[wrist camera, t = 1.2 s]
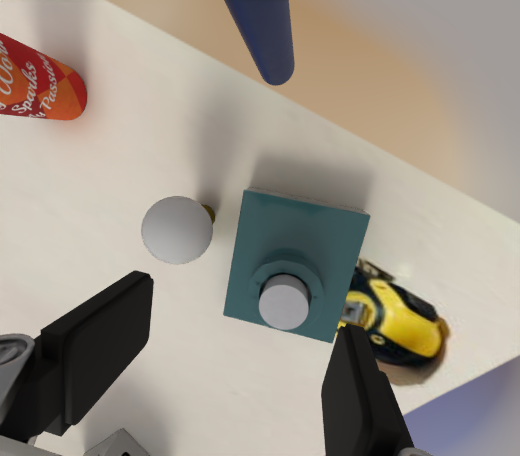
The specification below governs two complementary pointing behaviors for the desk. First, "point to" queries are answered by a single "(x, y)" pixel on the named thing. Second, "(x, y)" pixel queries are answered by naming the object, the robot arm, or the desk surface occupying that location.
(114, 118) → the desk surface
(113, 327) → the robot arm
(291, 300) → the grey push button
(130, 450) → the icon cube
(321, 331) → the teal button base
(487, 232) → the desk surface
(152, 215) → the light bulb
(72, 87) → the paper cup
